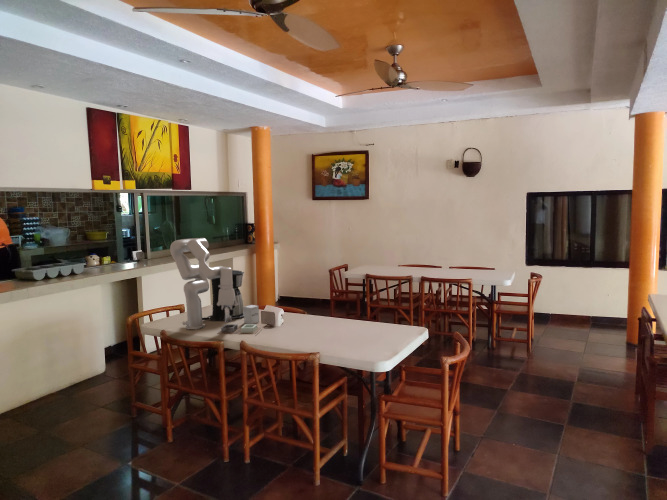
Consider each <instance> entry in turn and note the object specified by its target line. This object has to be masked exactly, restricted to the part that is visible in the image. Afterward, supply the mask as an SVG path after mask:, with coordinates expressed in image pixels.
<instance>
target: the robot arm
mask: <svg viewBox="0 0 667 500" xmlns="http://www.w3.org/2000/svg"><path fill="white" fill-rule="evenodd" d="M208 248H209V241H208V240H207V239H206V238H205V237H200V238H199V237H196V238H192V237H191V238H183V239H177V240H174V241H173V242H171V244H170V248H169V251H170V255H171V257H172V258H173V260H174V261H175V264H176V267H177V269H178V272H179V275H180V277H181V279H182V280H183V281H187V282H186V283H184V285H183V292H184V296H185V302H186V303H185V304H186V315H187V317H186V318H187V321H185V320H183V321H182V323H181V324H182V325H185V329H186V330H189V329H195V330H200V328H201V329H204V328H205V326H206V324H205V323H204V322H203V321H204V320H202V318H203V311H202V309H203V308H202V300H201V297H200V296H199V295H200V294H204V293H206V292H208V291H209V289H210V284H209V280H210V281H211V280H212V279H216V278H220V285H219V286H218V287H220V289H219V297H218V303H217V305H218V306H219V307H220V308H221V309H222V314H223V316H224V315H225V311H224V306H225V305H230V308H231V309H230V316H232V315H233V309H234V308H235V307H236V306H237V305H238V303H237V301H236V297H235V291H234V289H233V280H232V270H233V268H232V267H229V266H228V267H227V266H223V265H217V266H211V267H210V266H209V265H208V264H207V263H206V262H207V261H208V259H210V257H211V253H210V252H209V251H208ZM187 252H190V253H191V254H192V256H194V258H195V259H196V260H197V261H198V264H191V263H190V259H189V258H188V256H187V255H185V253H187ZM189 280H190V281H189ZM234 304H235V305H234ZM233 305H234V306H233Z"/></svg>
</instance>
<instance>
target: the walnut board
mask: <svg viewBox="0 0 667 500" xmlns="http://www.w3.org/2000/svg"><path fill="white" fill-rule="evenodd" d="M241 328H242V327H238V324H236V323H235V324H231V323H230V324H227V323H225V324H224V325H223V326H221V328H220V331H218V332H217V333H216V334H217V335H257V334H258V333H259V332H260V331H261V330H262V327H257V330H256V331H255V332H254V333H241Z"/></svg>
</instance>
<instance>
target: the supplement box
mask: <svg viewBox="0 0 667 500" xmlns="http://www.w3.org/2000/svg"><path fill="white" fill-rule="evenodd" d="M243 307H244V317H243V320H244V321H243V323H244V324H257V323H260V310H259V305H255V304H250V305H246V306H243Z"/></svg>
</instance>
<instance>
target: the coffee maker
mask: <svg viewBox="0 0 667 500" xmlns="http://www.w3.org/2000/svg"><path fill="white" fill-rule="evenodd" d="M244 274H245V272H244V271H241V270H235V269H234V270H233V269H232V280H233V289H234V291H235V297H236V301H237V303H238V305H237V306H236V307H235V308H234V309H233V315H232V316H231V320H235V319H237V320H238V319H242V318H243V319H244V307H245V306H244V300H243V295H242V293H241V290H240V289H239V288H240V287H242V285H243V277H244ZM210 282H211V292H212V293H211V295H212V314H211V315H209V316H207V317H202V321H208V320H211V321H217V322H218V321H225V315H224V316H223V314H222V309H221V308H220V307H219V306H218V305H217V303H218V297H219V289H220V287H218V286H219V285H220V278H216V279H212V280H210ZM234 305H235V304H234ZM234 305H233V306H234ZM225 306H230V305H225Z"/></svg>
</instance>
